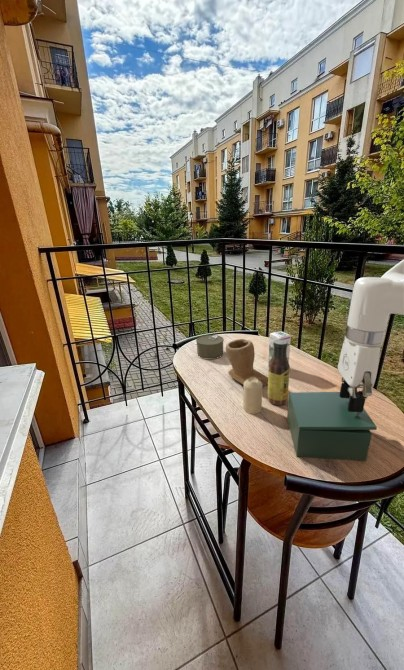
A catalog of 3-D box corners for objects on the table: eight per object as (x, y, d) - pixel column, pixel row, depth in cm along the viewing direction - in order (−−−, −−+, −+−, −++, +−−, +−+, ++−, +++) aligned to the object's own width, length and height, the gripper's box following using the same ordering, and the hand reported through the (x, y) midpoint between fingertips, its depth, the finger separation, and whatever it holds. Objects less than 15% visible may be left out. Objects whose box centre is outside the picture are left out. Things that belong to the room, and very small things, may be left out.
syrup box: (289, 369, 108) (291, 334, 103) (277, 373, 106) (279, 337, 101) (279, 364, 113) (281, 330, 108) (267, 367, 110) (269, 333, 105)
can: (191, 355, 124) (190, 341, 121) (206, 346, 133) (206, 333, 131) (214, 361, 117) (214, 346, 115) (228, 351, 126) (228, 337, 124)
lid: (352, 394, 75) (353, 376, 73) (376, 430, 62) (379, 409, 60) (289, 394, 78) (289, 377, 76) (299, 429, 64) (299, 409, 62)
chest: (344, 421, 78) (348, 397, 76) (366, 461, 65) (371, 433, 62) (287, 418, 80) (288, 395, 78) (296, 456, 67) (299, 429, 64)
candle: (259, 415, 82) (261, 385, 79) (241, 411, 84) (241, 382, 81) (262, 404, 87) (264, 376, 84) (245, 401, 89) (245, 373, 86)
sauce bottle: (286, 407, 85) (291, 347, 78) (265, 404, 87) (268, 345, 80) (287, 396, 91) (292, 339, 84) (268, 393, 93) (271, 337, 86)
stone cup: (220, 375, 106) (219, 338, 100) (246, 368, 111) (246, 332, 105) (243, 394, 93) (243, 353, 88) (271, 385, 98) (273, 345, 93)
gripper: (334, 322, 70) (324, 385, 77) (361, 348, 54) (346, 425, 61) (366, 323, 69) (353, 387, 76) (403, 350, 54) (383, 428, 60)
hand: (350, 403), depth 68 cm, fingers closed on lid, 5 cm apart
